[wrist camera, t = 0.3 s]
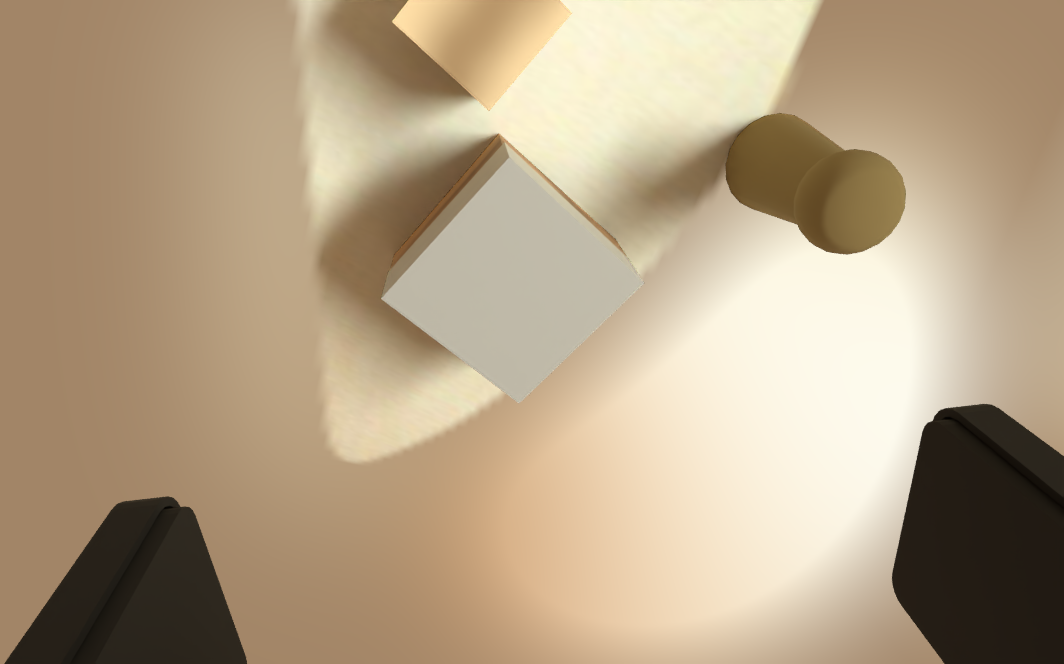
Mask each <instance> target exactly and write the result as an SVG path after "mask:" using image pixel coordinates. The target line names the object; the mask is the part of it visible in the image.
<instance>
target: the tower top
mask: <svg viewBox="0 0 1064 664" xmlns="http://www.w3.org/2000/svg"><path fill="white" fill-rule="evenodd" d="M643 284H644V281H643V280H642V278H641V277H640V275H639V274H638V272H637V271H636V269H635V268H634V266H633V265H632V263H631V262H630V260H629V258H628V257H627V256H625V255H624V254H623V253H622V252H621V251H620V250H619V249H618V248H617V247H616V246H615V245H614V244H613V243H612V242H611V241H609V240H608V239H607V238H606V237H605V236H604V235H603V234H602V233H601V232H600V231H599V230H598V229H597V228H596V227H595V226H593V225H592V224H591V223H590V222H589V221H588V220H587V219H586V218H585V217H584V216H583V215H582V214H581V213H580V212H579V211H577V210H576V209H575V208H574V207H573V206H572V205H571V204H570V203H569V202H568V201H567V200H566V199H565V198H564V197H563V196H561V195H560V194H559V193H558V192H557V191H556V190H555V189H554V188H553V187H552V186H551V185H550V184H549V183H548V182H547V181H545V180H544V179H543V178H542V177H541V176H540V175H539V174H538V173H537V172H536V171H535V170H534V169H533V168H532V167H531V166H529V165H528V164H527V163H526V162H525V161H524V160H523V159H522V158H521V157H520V156H519V155H518V154H517V153H516V152H515V151H513V150H512V149H511V148H510V147H509V146H508V145H507V144H506V143H505V142H504V143H503V144H502V146H501V147H500V148H499V149H498V150H497V151H496V152H495V153H494V154H493V156H492V157H491V158H490V159H489V160H488V161H487V162H486V163H485V164H484V166H483V167H482V168H481V169H480V170H479V171H478V172H477V173H476V174H475V176H474V177H473V178H472V179H471V180H470V181H469V182H468V183H467V185H466V186H465V187H464V188H463V189H462V190H461V191H460V192H459V193H458V195H457V196H456V197H455V198H454V199H453V200H452V201H451V202H450V203H449V205H448V206H447V207H446V208H445V209H444V210H443V211H442V212H441V214H440V215H439V216H438V217H437V218H436V219H435V220H434V221H433V222H432V224H431V225H430V226H429V227H428V228H427V229H426V230H425V231H424V232H423V234H422V235H421V236H420V237H419V238H418V239H417V240H416V241H415V242H414V244H413V245H412V246H411V247H410V248H409V249H408V250H407V251H406V253H405V254H404V255H403V256H402V257H401V258H400V259H399V260H398V261H397V263H396V264H395V265H394V266H393V267H392V268H391V269H390V270H389V271H388V274H387V278H386V282H385V285H384V289H383V293H382V297H381V299H382V300H383V301H384V302H386V303H387V304H388V305H390V306H391V307H392V308H394V309H395V310H396V311H398V312H399V313H400V314H402V315H403V316H404V317H406V318H407V319H408V320H409V321H411V322H412V323H413V324H415V325H416V326H417V327H419V328H420V329H421V330H423V331H424V332H425V333H427V334H428V335H429V336H431V337H432V338H433V339H435V340H436V341H437V342H439V343H440V344H441V345H442V346H444V347H445V348H446V349H448V350H449V351H450V352H452V353H453V354H454V355H456V356H457V357H458V358H460V359H461V360H462V361H464V362H465V363H466V364H468V365H469V366H470V367H472V368H473V369H474V370H476V371H477V372H478V373H479V374H481V375H482V376H483V377H485V378H486V379H487V380H489V381H490V382H491V383H493V384H494V385H495V386H497V387H498V388H499V389H501V390H502V391H503V392H505V393H506V394H507V395H509V396H510V397H511V398H513V399H514V400H515V401H516V402H518V403H520V402H521V401H522V400H523V399H524V398H525V397H526V396H527V395H528V394H529V393H531V392H532V391H533V389H535V388H536V387H537V386H538V385H539V384H540V383H541V382H542V381H543V380H544V379H545V378H546V377H547V376H548V375H549V374H550V373H551V372H552V371H553V370H555V369H556V368H557V367H558V365H560V364H561V363H562V362H563V361H564V360H565V359H566V358H567V357H568V356H569V355H570V354H571V353H572V352H573V351H574V350H575V349H576V348H577V347H578V346H579V345H580V344H581V343H583V342H584V341H585V340H586V339H587V338H588V337H589V336H590V335H591V334H592V333H593V332H594V331H595V330H596V329H597V328H598V327H599V326H600V325H601V324H602V323H603V322H604V321H606V320H607V319H608V318H609V317H610V316H611V315H612V314H613V313H614V312H615V311H616V310H617V309H618V308H619V307H620V306H621V305H622V304H623V303H624V302H625V301H626V300H627V299H628V298H629V297H631V296H632V295H633V294H634V293H635V292H636V291H637V290H638V289H639V288H640V287H641V286H642V285H643Z"/></svg>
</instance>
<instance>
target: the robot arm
mask: <svg viewBox="0 0 1064 664" xmlns="http://www.w3.org/2000/svg"><path fill="white" fill-rule="evenodd" d="M892 583H893V588H894V592H895V594H896V597H897V599H898V601H899V602H900V604H901V605H902V607H903V608H904V610H905V611H906V612H907V613H908V615H909V616H910V617H911V619H912V620H913V622H914V623H915V624H916V625H917V627H918V628H919V630H920V631H921V632H922V634H923V635H924V636H925V638H926V639H927V640H928V642H929V643H930V644H931V646H932V647H933V649H934V650H935V651H936V653H937V654H938V655H939V657H940V658H941V659H942V661H943V662H944V663H945V664H1064V456H1063V455H1061V454H1060V453H1059V452H1057V451H1056V450H1054V449H1053V448H1052V447H1050V446H1049V445H1048V444H1046V443H1045V442H1044V441H1042V440H1041V439H1040V438H1038V437H1037V436H1035V435H1034V434H1033V433H1032V432H1030V431H1029V430H1027V429H1026V428H1025V427H1023V426H1022V425H1021V424H1019V423H1018V422H1016V421H1015V420H1014V419H1013V418H1011V417H1010V416H1008V415H1007V414H1006V413H1004V412H1003V411H1002V410H1000V409H999V408H997V407H995V406H993V405H989V404H980V405H971V406H962V407H953V408H945V409H943V410H940V411H939V412H938V413H937V414H936V415H935V417H934V419H933V421H932V422H929V423H927V424H926V426H925V427H924V429H923V432H922V437H921V441H920V446H919V451H918V456H917V460H916V465H915V470H914V474H913V479H912V484H911V488H910V493H909V498H908V502H907V507H906V512H905V516H904V521H903V526H902V531H901V535H900V540H899V545H898V549H897V554H896V559H895V563H894V568H893V573H892ZM5 664H247V660H246V656H245V653H244V650H243V648H242V645H241V642H240V639H239V636H238V633H237V631H236V628H235V625H234V622H233V620H232V617H231V614H230V611H229V609H228V606H227V603H226V600H225V597H224V594H223V592H222V589H221V586H220V583H219V580H218V578H217V575H216V572H215V569H214V566H213V564H212V561H211V558H210V555H209V552H208V550H207V547H206V544H205V541H204V538H203V536H202V533H201V530H200V527H199V524H198V522H197V519H196V516H195V514H194V512H193V510H192V509H191V508H190V507H180V506H179V504H178V502H177V501H176V500H175V499H174V498H172V497H160V498H151V499H142V500H134V501H125V502H121V503H119V504H117V505H116V506H115V507H114V508H113V509H112V510H111V511H110V513H109V514H108V516H107V517H106V519H105V520H104V521H103V523H102V524H101V526H100V527H99V529H98V530H97V531H96V533H95V534H94V536H93V537H92V539H91V540H90V542H89V543H88V544H87V546H86V547H85V549H84V550H83V552H82V553H81V554H80V556H79V557H78V559H77V560H76V562H75V563H74V565H73V566H72V567H71V569H70V570H69V572H68V573H67V575H66V576H65V577H64V579H63V580H62V582H61V583H60V585H59V586H58V587H57V589H56V590H55V592H54V593H53V595H52V596H51V598H50V599H49V600H48V602H47V603H46V605H45V606H44V608H43V609H42V610H41V612H40V613H39V615H38V616H37V618H36V619H35V621H34V622H33V623H32V625H31V627H30V628H29V629H28V631H27V632H26V633H25V635H24V636H23V638H22V639H21V641H20V642H19V643H18V645H17V646H16V648H15V649H14V651H13V652H12V653H11V655H10V657H9V658H8V659H7V661H6V662H5Z"/></svg>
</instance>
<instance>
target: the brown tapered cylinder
mask: <svg viewBox="0 0 1064 664" xmlns="http://www.w3.org/2000/svg"><path fill="white" fill-rule="evenodd" d="M726 180H727V183H728V185H729V188H730V190H731V193H732V194H733V195H734V196H735V197H736V199H737V200H738V201H739V202H740V203H742V204H744V205H746V206H748V207H750V208H752V209H754V210H757V211H760V212H763V213H766V214H769V215H771V216H775V217H777V218H780V219H783V220H786V221H789V222H792V223H795V224H797V225H798V227H799V229H800V231H801V232H802V233H803V235H804V236H805V237H806V238H807V239H808V240H809V242H811V243H812V244H813V245H815V246H817V247H819V248H821V249H823V250H824V251H826V252H831V253H838V254H852V253H857V252H862V251H865V250H867V249H869V248H871V247H873V246H875V245H877V244H879V243H880V242H882V241H883V240H884V239H885V238H886V237H887V236H889V235H890V234H891V233H892V231H893V230H894V228H895V227H896V226H897V224H898V223H899V221H900V219H901V216H902V214H903V211H904V208H905V197H906V190H905V186H904V182H903V178H902V176H901V174H900V173H899V172H898V170H897V169H896V168H895V166H894V165H893V164H892V163H891V162H890V161H889V160H887V159H885V158H884V157H882V156H880V155H879V154H877V153H874V152H871V151H864V150H857V149H854V150H846V151H845V150H843V149H842V148H841V147H839V146H838V145H837V144H835V143H834V142H833V141H831V140H830V139H829V138H827V137H826V136H824V135H823V134H822V133H820V132H819V131H817V130H816V129H815V128H813V127H812V126H811V125H809V124H808V123H807V122H805V121H803V120H802V119H800V118H798V117H796V116H795V115H788V114H782V113H778V114H773V115H767V116H764V117H762V118H760V119H758V120H756V121H754V122H753V123H751V124H749V125H748V126H747V127H746V128H745V129H744V130H743V131H742V132H741V133H740V134H739V135H738V137H737V138H736V140H735V142H734V143H733V145H732V147H731V148H730V151H729V154H728V158H727V162H726Z"/></svg>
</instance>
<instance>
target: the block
mask: <svg viewBox="0 0 1064 664" xmlns="http://www.w3.org/2000/svg"><path fill="white" fill-rule="evenodd" d="M571 14H572V13H571V12H570V11H569V10H568V8H567V7H566V6H565V5H564V4H563V3H562V2H561V1H560V0H408V1H407V3H406V4H405V5H404V7H403V8H402V9H401V11H400V12H399V13H398V14H397V16H396V17H395V18H394V20H393V21H392V22H393V23H394V24H395V25H396V26H397V27H398V28H399V29H400V30H401V31H402V32H404V33H405V34H406V35H407V36H408V37H409V38H410V39H411V40H412V41H413V42H414V43H416V44H417V45H418V46H419V47H420V48H421V49H422V50H423V51H424V52H425V53H426V54H427V55H429V56H430V57H431V58H432V59H433V60H434V61H435V62H436V63H437V64H438V65H439V66H441V67H442V68H443V69H444V70H445V71H446V72H447V73H448V74H449V75H450V76H451V77H453V78H454V79H455V80H456V81H457V82H458V83H459V84H460V85H461V86H462V87H463V88H464V89H466V90H467V91H468V92H469V93H470V94H471V95H472V96H473V97H474V98H475V99H476V100H478V101H479V102H480V103H481V104H482V105H483V106H484V107H485V108H486V109H487V110H488V111H489V110H490V109H491V108H492V107H493V106H494V105H495V103H496V102H497V101H498V100H499V99H500V97H501V96H502V95H503V94H504V93H505V92H506V90H507V89H508V88H509V87H510V86H511V85H512V83H513V82H514V81H515V80H516V79H517V77H518V76H519V75H520V74H521V73H522V72H523V70H524V69H525V68H526V67H527V66H528V64H529V63H530V62H531V61H532V60H533V59H534V57H535V56H536V55H537V54H538V53H539V51H540V50H541V49H542V48H543V47H544V46H545V44H546V43H547V42H548V41H549V40H550V39H551V37H552V36H553V35H554V34H555V33H556V31H557V30H558V29H559V28H560V27H561V26H562V24H563V23H564V22H565V21H566V20H567V18H568V17H569V16H570V15H571Z"/></svg>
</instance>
